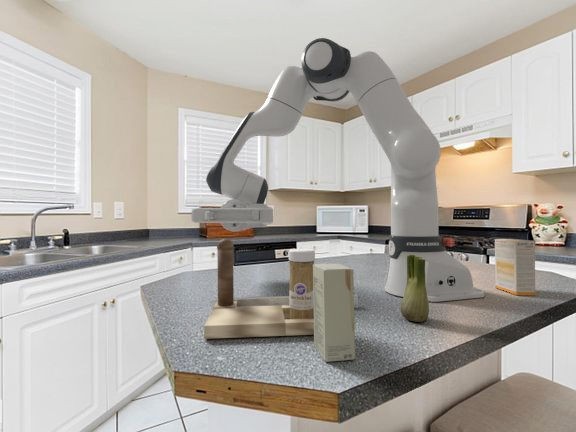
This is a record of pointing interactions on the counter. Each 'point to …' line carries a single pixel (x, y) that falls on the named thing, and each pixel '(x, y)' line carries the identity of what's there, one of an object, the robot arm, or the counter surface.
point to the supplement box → (515, 266)
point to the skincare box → (334, 311)
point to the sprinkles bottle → (301, 283)
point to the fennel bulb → (415, 291)
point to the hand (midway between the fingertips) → (230, 215)
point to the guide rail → (267, 301)
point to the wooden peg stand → (247, 309)
